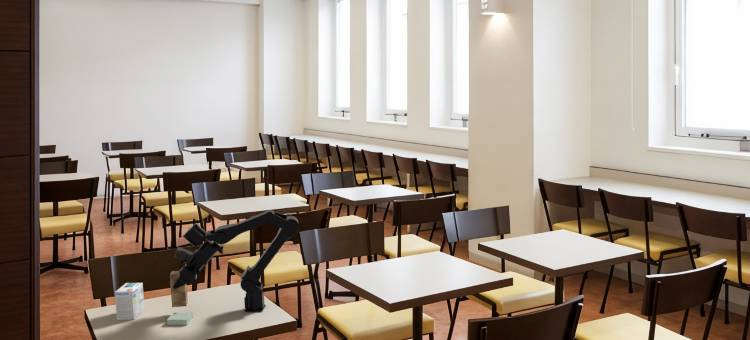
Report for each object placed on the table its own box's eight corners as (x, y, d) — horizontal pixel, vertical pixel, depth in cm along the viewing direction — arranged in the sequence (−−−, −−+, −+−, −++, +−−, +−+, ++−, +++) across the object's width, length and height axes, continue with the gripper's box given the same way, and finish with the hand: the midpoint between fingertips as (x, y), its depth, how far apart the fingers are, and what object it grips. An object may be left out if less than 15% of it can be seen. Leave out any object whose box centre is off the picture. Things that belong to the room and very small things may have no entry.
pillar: (187, 301, 255) (185, 270, 254) (186, 306, 250) (184, 274, 249) (173, 302, 255) (171, 271, 253) (172, 307, 250) (169, 275, 248)
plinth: (193, 318, 249) (193, 312, 248) (186, 325, 242) (186, 319, 241) (174, 318, 249) (173, 312, 249) (167, 325, 242) (167, 319, 242)
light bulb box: (127, 310, 259) (125, 282, 258) (145, 309, 259) (143, 282, 257) (116, 320, 248) (113, 291, 247) (134, 320, 248) (132, 291, 247)
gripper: (189, 234, 259) (161, 264, 259) (183, 246, 241) (153, 279, 240) (212, 253, 261) (184, 283, 261) (208, 266, 243) (177, 299, 243)
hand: (174, 285), depth 251 cm, fingers closed on pillar, 5 cm apart
